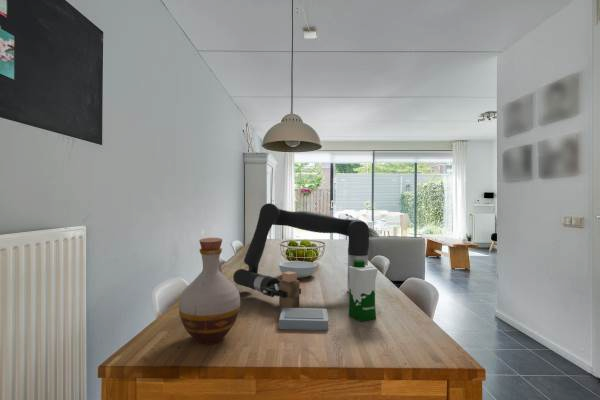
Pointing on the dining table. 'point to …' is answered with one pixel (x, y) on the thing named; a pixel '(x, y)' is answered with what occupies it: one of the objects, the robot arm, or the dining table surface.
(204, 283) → the jug
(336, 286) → the dining table surface
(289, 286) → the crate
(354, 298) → the milk carton
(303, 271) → the serving bowl
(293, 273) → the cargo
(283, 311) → the dock
